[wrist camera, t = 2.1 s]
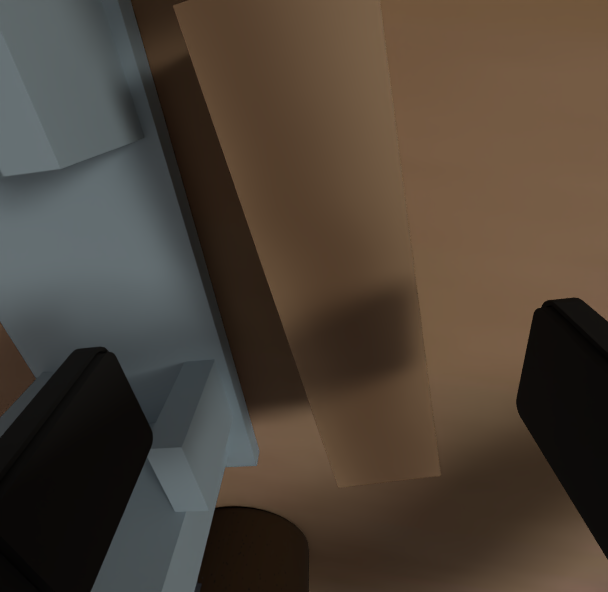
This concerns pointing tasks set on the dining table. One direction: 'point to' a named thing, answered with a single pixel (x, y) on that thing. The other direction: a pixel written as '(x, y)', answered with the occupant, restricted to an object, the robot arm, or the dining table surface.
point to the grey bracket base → (114, 269)
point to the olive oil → (253, 554)
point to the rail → (325, 214)
